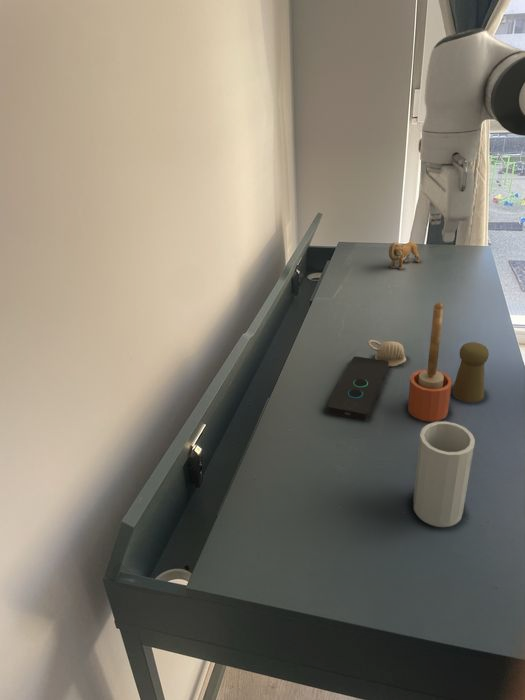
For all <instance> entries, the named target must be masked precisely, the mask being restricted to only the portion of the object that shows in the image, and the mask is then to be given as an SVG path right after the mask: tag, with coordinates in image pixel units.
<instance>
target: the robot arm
mask: <svg viewBox="0 0 525 700" xmlns="http://www.w3.org/2000/svg"><path fill="white" fill-rule="evenodd" d="M423 98H424V106H425V117H424V121H423V124H422V126H421V127H422V128H421V138H420V139H419V141H418V152H419V160H420V186H421V192H422V193H423V194H424V195H425V197H426V198H427V199H428V201H427V203H428V213H429V214H428V215H429V217H428V222H429V223H430V225H432V226H439V225H440V224H441V223H442V217H443V223H444V224H443V229H441V236H440V237H441V240H442V242H444V243H452V242H454V241H455V238H456V232H457V229H458V227H459V225H460V222H466V221H469V220H470V218H471V216H472V212H473V203H474V190H475V189H474V188H475V175H474V171H473V170H472V168H470V167H469V163H472V162H475V161H477V159H478V154H479V146H480V139H481V131H482V124H483V123H484V122H485V121H487V120H494V121H496V122H497V123H498V124H499V125H500V126H501V127H502V128H503V129H505V131H507V132H509V133H511V134H514V135H516V136H524V137H525V50H523V49H520V48H517V47H514V46H512V45H510V44H508V43H505V42H503V40H500V39H498V38H496V37H495V36H493V35H492V34H491V33H490V32H489V30H487V29H486V28H479V27H478V28H473V29H472V28H471V29H469V30H463V31H460V32H457V33H454V34H449V35H448V36H445V37H443V38H442V39H440V40H439V41H438V42H437V43H436V44H435V46H434V47H433V48H432V50H431V53H430V56H429V59H428V65H427V71H426V79H425V87H424V97H423Z"/></svg>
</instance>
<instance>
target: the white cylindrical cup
mask: <svg viewBox="0 0 525 700" xmlns="http://www.w3.org/2000/svg"><path fill="white" fill-rule="evenodd" d="M475 443H476V439H475V437H474V435H473V433H472V432H471V431H470V430H468V428H466V427H465V426H462V425H460V424H458V423H455V422H451V421H433V422H431V423H427V424H426V425H425V426H423V427H422V428H421V430H420V433H419V439H418V450H417V459H416V460H417V461H416V470H415V471H416V472H415V481H414V491H413V498H412V499H413V500H412V501H413V503H412V505H413V511H414V513H415V514H416V516H417V517H418V518H419V519H420V520H421V521H422V522H424V523H426V524H428V525H430V526H433V527H437V528H447V527H452V526H454V525H455V526H456V524H458V523H459V522H460V521H461V520H462V519H463V515H464V510H465V509H464V508H465V502H466V496H467V491H468V484H469V479H470V473H471V467H472V461H473V455H474V449H475Z"/></svg>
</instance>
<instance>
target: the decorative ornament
mask: <svg viewBox="0 0 525 700" xmlns="http://www.w3.org/2000/svg"><path fill="white" fill-rule="evenodd" d="M371 343H374V344H376V345H377V347H375V346H373V345H372V344H371ZM367 344H368V346H369V348H370V349H372V350H373V351H376V354H375V356H374V359H377V360H383V361H388V362H389V367H397V366H400V365H402V364H404V363H406V361H407V357H406V355H405V348H404V346H403V345H402V344H401V343H400V342H397V341H390V340H389V341H388V340H387V341H383V342H381V343H380V342H379V341H378V340H375V339H369V340H368V341H367Z"/></svg>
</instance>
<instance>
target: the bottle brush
mask: <svg viewBox="0 0 525 700" xmlns="http://www.w3.org/2000/svg"><path fill="white" fill-rule="evenodd" d="M443 315H444V304H443V303H441V302H436V303H434V305H433V310H432V320H431V321H432V322H431V329H430V330H431V331H430V340H429V351H428V361H427V368H426V369H427V370H424V371H422V372H421V373H420V374H419V381H418V385H419V386H422V387H424V388H428V389H439V388H443V380H444V376H443V375H442V374H441V373H440V372H438V371H439V370H438V360H439V352H440V345H441V332H442V325H443ZM437 370H438V371H437Z"/></svg>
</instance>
